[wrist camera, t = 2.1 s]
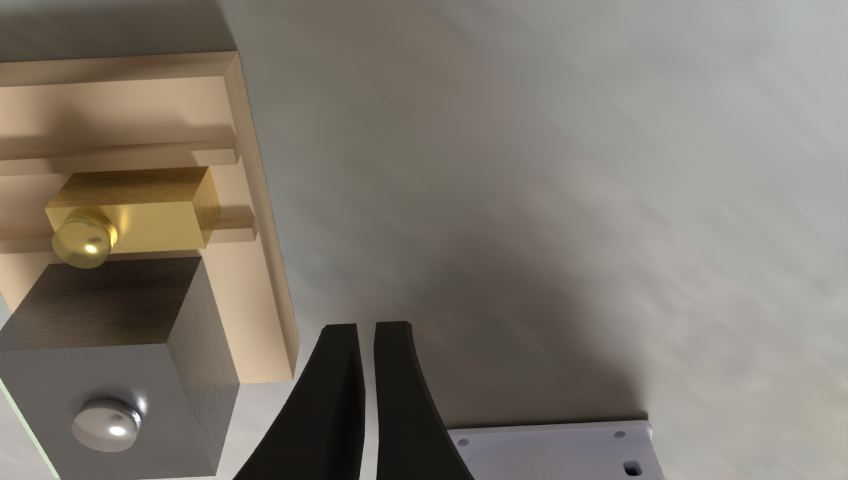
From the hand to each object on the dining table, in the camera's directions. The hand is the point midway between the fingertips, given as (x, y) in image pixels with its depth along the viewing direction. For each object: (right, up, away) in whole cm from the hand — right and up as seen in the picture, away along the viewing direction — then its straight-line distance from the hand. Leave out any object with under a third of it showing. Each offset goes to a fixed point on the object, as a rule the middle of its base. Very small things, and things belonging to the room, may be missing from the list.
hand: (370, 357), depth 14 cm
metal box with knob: (-8, -1, +9) cm, 13 cm away
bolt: (-7, +4, +6) cm, 10 cm away
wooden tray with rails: (-9, +3, +9) cm, 13 cm away
